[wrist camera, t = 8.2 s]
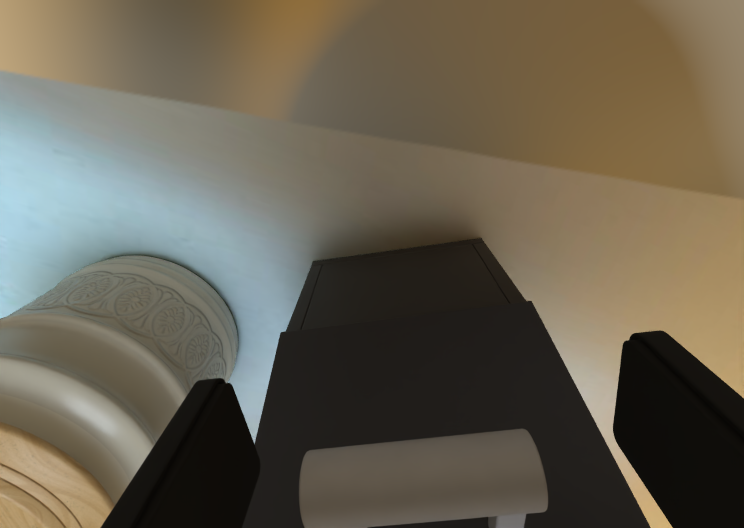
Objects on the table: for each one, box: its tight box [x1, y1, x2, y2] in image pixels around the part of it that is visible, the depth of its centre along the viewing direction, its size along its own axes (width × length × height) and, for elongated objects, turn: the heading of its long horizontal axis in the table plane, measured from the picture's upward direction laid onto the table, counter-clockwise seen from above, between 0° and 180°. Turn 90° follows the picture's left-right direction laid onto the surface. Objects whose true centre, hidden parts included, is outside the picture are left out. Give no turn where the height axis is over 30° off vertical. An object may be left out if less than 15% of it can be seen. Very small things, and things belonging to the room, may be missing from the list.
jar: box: [0, 256, 238, 528], centre depth 21 cm, size 13×13×18 cm
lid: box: [242, 301, 650, 528], centre depth 12 cm, size 11×12×5 cm
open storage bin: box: [286, 238, 526, 331], centre depth 25 cm, size 11×12×9 cm
